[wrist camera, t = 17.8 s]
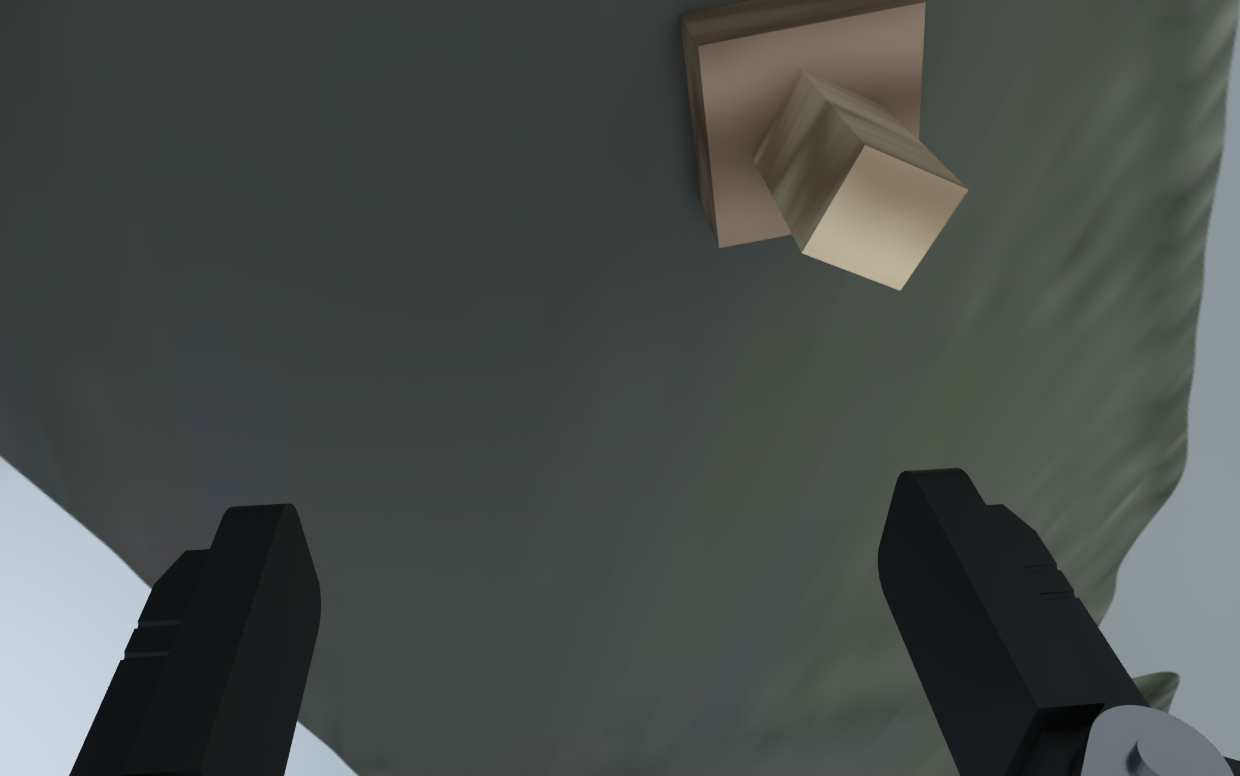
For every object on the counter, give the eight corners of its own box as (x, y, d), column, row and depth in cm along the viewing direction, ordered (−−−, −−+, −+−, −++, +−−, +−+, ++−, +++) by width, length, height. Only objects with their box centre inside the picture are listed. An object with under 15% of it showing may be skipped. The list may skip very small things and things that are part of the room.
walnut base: (876, 165, 48) (915, 211, 43) (700, 198, 48) (719, 248, 43) (880, -27, 42) (925, 2, 37) (678, 12, 42) (698, 46, 38)
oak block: (833, 192, 42) (900, 290, 34) (752, 158, 41) (801, 253, 33) (884, 105, 40) (968, 189, 31) (799, 68, 38) (864, 145, 30)
